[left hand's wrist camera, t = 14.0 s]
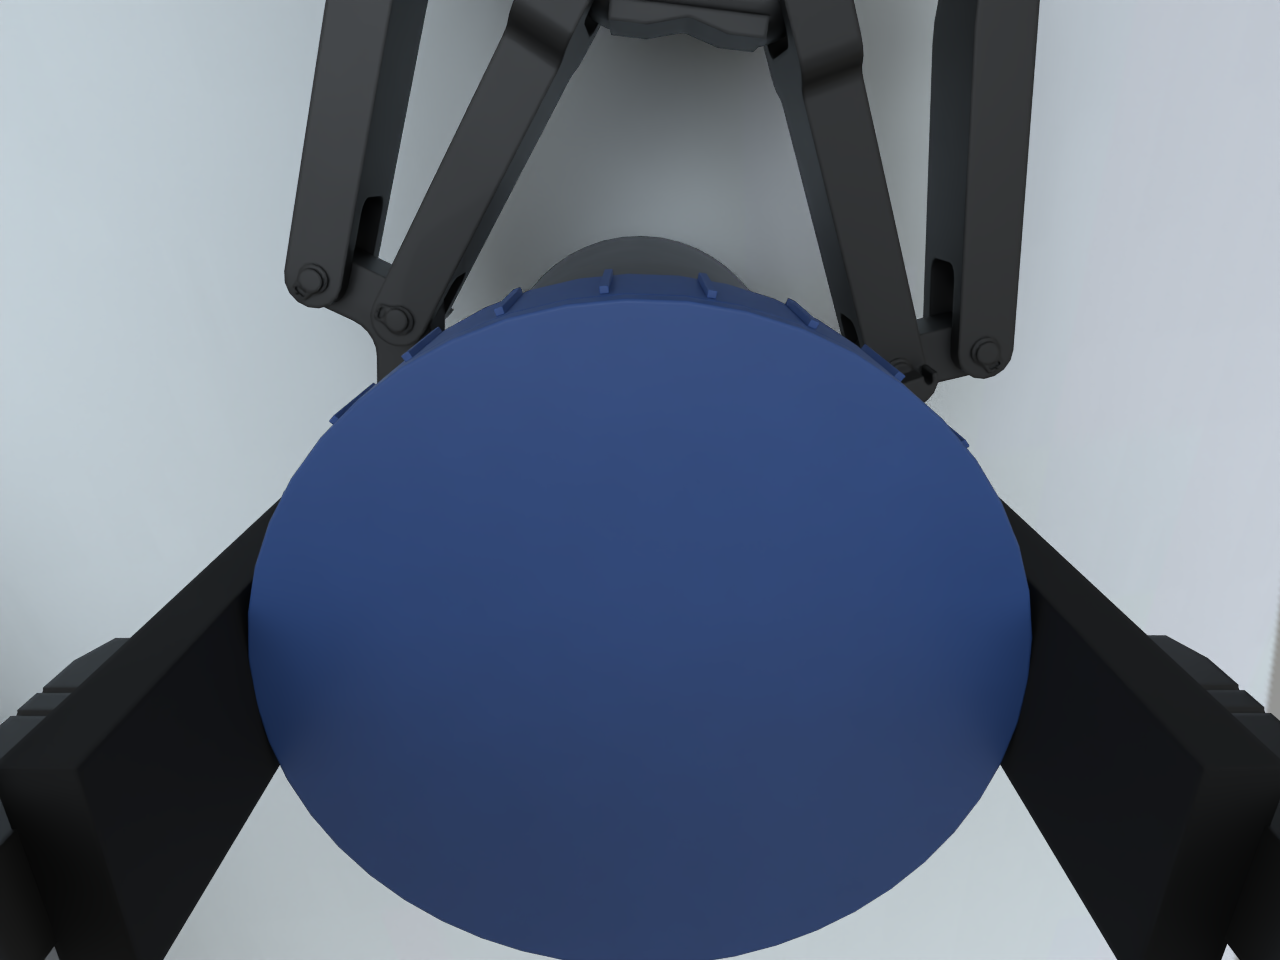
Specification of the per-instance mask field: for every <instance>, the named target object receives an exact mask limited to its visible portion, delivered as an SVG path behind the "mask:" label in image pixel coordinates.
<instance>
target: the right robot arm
mask: <svg viewBox="0 0 1280 960" xmlns="http://www.w3.org/2000/svg"><path fill="white" fill-rule="evenodd" d="M427 3H428V0H326V3H325V9H324V16H323V22H322V29H321V35H320V42H319V48H318V55H317V62H316V68H315V75H314V81H313V88H312V94H311V101H310V107H309V114H308V120H307V127H306V133H305V140H304V146H303V153H302V159H301V166H300V172H299V179H298V185H297V192H296V198H295V205H294V211H293V218H292V224H291V231H290V238H289V244H288V251H287V257H286V264H285V270H284V275H285V284H286V286H287V288H288V291H289V293H290V294H291V295H292V296H293V297H294V298H295V299H296V300H297V301H298V302H299V303H301V304H303V305H305V306H307V307H312V308H322V307H325V308H327V309H329V310H332V311H334V312H336V313H338V314H340V315H342V316H344V317H347V318H349V319H351V320H353V321H355V322H356V323H358V324H360V325H361V326H362V327H363V328H364V329H365V330H366V331H367V332H368V333H369V335H370V336H371V338H372V339H373V341H374V344H375V347H376V352H377V383H378V382H379V381H381V380H382V379H383V378H384V377H385V376H387V375H388V374H389V373H390V372H391V371H393V370H394V369H395V368H396V367H397V366H399V365H400V364H401V363H402V362H403V361H404V360H403V358H402V357H401V356H402V355H403V354H404V353H405V352H407V351H408V350H409V349H410V348H412V347H413V346H414V345H415V344H417V343H418V342H419V341H420V340H422V339H423V338H424V337H425V336H427V335H428V334H429V333H430V332H431V331H433V330H434V329H436V328H437V327H439V328H440V329H441V330H442V332H443V331H444V330H445V319H446V318H447V317H448V316H449V315H450V314H451V313H452V311H453V310H454V309H452V308H451V307H452V305H453V303H454V301H455V299H456V297H457V295H458V293H459V291H460V290H461V288H462V286H463V284H464V282H465V280H466V278H467V276H468V274H469V272H470V270H471V268H472V266H473V264H474V263H475V261H476V259H477V257H478V255H479V253H480V251H481V249H482V247H483V245H484V243H485V241H486V239H487V238H488V236H489V234H490V232H491V230H492V228H493V226H494V224H495V222H496V220H497V218H498V216H499V214H500V212H501V211H502V209H503V207H504V205H505V203H506V201H507V199H508V197H509V195H510V193H511V191H512V189H513V187H514V185H515V184H516V182H517V180H518V178H519V176H520V174H521V172H522V170H523V168H524V166H525V164H526V162H527V160H528V158H529V157H530V155H531V153H532V151H533V149H534V147H535V145H536V143H537V141H538V139H539V137H540V135H541V133H542V132H543V130H544V128H545V126H546V124H547V122H548V120H549V118H550V116H551V114H552V112H553V110H554V108H555V106H556V105H557V103H558V101H559V99H560V97H561V95H562V93H563V91H564V89H565V87H566V85H567V83H568V82H569V80H570V78H571V76H572V75H573V73H574V72H575V71H576V69H577V68H578V66H579V65H580V63H581V62H582V60H583V58H584V56H585V54H586V52H587V50H588V48H589V47H590V45H591V43H592V41H593V39H594V37H595V35H596V33H597V31H598V29H599V27H600V25H602V26H604V27H606V28H608V29H610V31H611V35H617V36H625V37H633V38H641V39H650V38H655V37H661V36H667V35H672V34H678V33H686V34H688V35H690V36H693V37H695V38H697V39H700V40H702V41H704V42H706V43H709V44H711V45H713V46H715V47H718V48H724V49H732V50H740V51H749V52H753V51H754V50H755V49H756V48H757V47H760V46H764V50H765V54H766V58H767V62H768V66H769V69H770V73H771V77H772V81H773V84H774V87H775V90H776V92H777V94H778V96H779V98H780V100H781V102H782V105H783V109H784V112H785V116H786V120H787V124H788V128H789V132H790V136H791V140H792V144H793V148H794V151H795V155H796V159H797V163H798V167H799V171H800V175H801V179H802V183H803V187H804V191H805V194H806V198H807V202H808V206H809V210H810V214H811V218H812V222H813V226H814V230H815V234H816V237H817V241H818V245H819V249H820V253H821V257H822V261H823V265H824V269H825V273H826V277H827V280H828V284H829V288H830V292H831V296H832V300H833V304H834V308H835V312H836V316H837V320H838V323H839V327H840V331H841V335H842V336H843V337H845V338H846V339H848V340H849V341H851V342H852V343H854V344H855V345H857V346H858V347H859V348H862V347H863V345H864V344H866V345H867V346H869V347H870V348H871V349H872V350H874V351H875V352H876V353H877V354H879V355H880V356H881V357H882V358H884V359H885V360H886V361H887V362H889V363H890V364H891V365H892V366H894V367H895V368H896V369H897V370H899V371H900V372H901V373H902V374H904V375H905V377H904V379H903V380H902V381H901V383H903V384H904V385H905V386H906V387H907V388H908V389H909V390H910V391H912V392H913V393H914V394H915V395H916V396H917V397H918V398H919V399H920V400H922V401H923V402H926V401H927V400H928V399H929V398H930V397H931V396H932V394H933V393H934V391H935V389H936V386H937V384H938V382H942V381H946V380H950V379H954V378H959V377H963V376H967V375H970V376H972V377H973V378H982V379H985V378H988V377H992V376H995V375H996V374H998V373H999V372H1001V371H1002V370H1004V368H1005V367H1006V366H1007V364H1008V363H1009V361H1010V360H1011V356H1012V353H1013V347H1014V334H1015V321H1016V308H1017V294H1018V281H1019V268H1020V255H1021V241H1022V228H1023V215H1024V202H1025V189H1026V175H1027V162H1028V149H1029V136H1030V122H1031V109H1032V96H1033V83H1034V69H1035V56H1036V43H1037V30H1038V16H1039V3H1040V0H938V6H937V11H936V16H935V22H934V34H933V45H932V74H931V104H930V133H929V162H928V192H927V221H926V250H925V280H924V309H923V318H920V319H916V316H915V311H914V307H913V302H912V298H911V293H910V288H909V284H908V279H907V275H906V270H905V266H904V261H903V257H902V252H901V248H900V243H899V239H898V234H897V230H896V225H895V220H894V216H893V211H892V207H891V202H890V198H889V193H888V189H887V184H886V180H885V175H884V171H883V166H882V161H881V157H880V152H879V148H878V143H877V139H876V134H875V130H874V125H873V121H872V116H871V112H870V107H869V103H868V98H867V93H866V89H865V84H864V80H863V74H862V63H863V44H862V38H861V32H860V28H859V23H858V18H857V14H856V9H855V5H854V0H514V1H513V4H512V7H511V10H510V13H509V18H508V23H507V26H506V29H505V31H504V34H503V36H502V38H501V40H500V42H499V44H498V46H497V48H496V50H495V53H494V55H493V57H492V59H491V61H490V63H489V65H488V67H487V69H486V71H485V73H484V75H483V77H482V79H481V82H480V84H479V86H478V88H477V90H476V92H475V94H474V96H473V98H472V100H471V102H470V104H469V106H468V108H467V111H466V113H465V115H464V117H463V119H462V121H461V123H460V125H459V127H458V129H457V131H456V133H455V135H454V137H453V139H452V142H451V144H450V146H449V148H448V150H447V152H446V154H445V156H444V158H443V160H442V162H441V164H440V166H439V168H438V171H437V173H436V175H435V177H434V179H433V181H432V183H431V185H430V187H429V189H428V191H427V193H426V195H425V197H424V199H423V202H422V204H421V206H420V208H419V210H418V212H417V214H416V216H415V218H414V220H413V222H412V224H411V226H410V228H409V231H408V233H407V235H406V237H405V239H404V241H403V243H402V245H401V247H400V249H399V251H398V253H397V255H396V257H395V259H394V262H393V264H390V263H388V262H385V261H383V260H381V259H379V258H378V256H379V251H380V246H381V241H382V236H383V230H384V225H385V220H386V215H387V210H388V205H389V199H390V194H391V189H392V184H393V179H394V174H395V168H396V163H397V158H398V153H399V148H400V142H401V137H402V132H403V127H404V122H405V117H406V111H407V106H408V101H409V96H410V91H411V86H412V80H413V75H414V70H415V65H416V60H417V55H418V49H419V44H420V39H421V34H422V29H423V24H424V18H425V13H426V8H427Z"/></svg>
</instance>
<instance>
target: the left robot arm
mask: <svg viewBox="0 0 1280 960" xmlns="http://www.w3.org/2000/svg"><path fill="white" fill-rule="evenodd" d="M999 499H1000V498H999ZM280 500H281V498H280V499H279V500H278V501H277V502H276V503H275V504H274V505H273V506H272V507H271V508H269V509H268V510H267V511H266V512H265V513H264V514H263V515H262V516H261V517H260V518H259V519H258V520H257V521H255V522H254V523H253V524H252V525H251V526H250V527H249V528H248V529H247V530H246V531H245V532H244V533H243V534H241V535H240V536H239V537H238V538H237V539H236V540H235V541H234V542H233V543H232V544H231V545H230V546H229V547H228V548H226V549H225V550H224V551H223V552H222V553H221V554H220V555H219V556H218V557H217V558H216V559H215V560H214V561H212V562H211V563H210V564H209V565H208V566H207V567H206V568H205V569H204V570H203V571H202V572H201V573H200V574H199V575H197V576H196V577H195V578H194V579H193V580H192V581H191V582H190V583H189V584H188V585H187V586H186V587H185V588H183V589H182V590H181V591H180V592H179V593H178V594H177V595H176V596H175V597H174V598H173V599H172V600H171V601H170V602H168V603H167V604H166V605H165V606H164V607H163V608H162V609H161V610H160V611H159V612H158V613H157V614H156V615H154V616H153V617H152V618H151V619H150V620H149V621H148V622H147V623H146V624H145V625H144V626H143V627H142V628H141V629H139V630H138V631H137V632H136V633H135V634H134V635H133V636H132V637H131V638H115V639H113V640H111V641H109V642H107V643H106V644H104V645H102V646H100V647H98V648H96V649H95V650H93V651H91V652H89V653H87V654H85V655H84V656H82V657H80V658H78V659H76V660H74V661H73V662H72V663H71V664H70V665H68V666H67V667H66V668H65V669H64V670H63V671H62V672H60V673H59V674H58V675H57V676H56V677H55V678H54V679H52V680H51V681H50V682H49V683H48V684H47V685H46V686H44V687H43V692H42V693H36V694H35V695H34V696H33V697H32V698H31V699H30V700H29V701H27V702H26V703H25V704H24V705H23V706H22V707H21V708H19V709H18V710H17V712H18V713H17V715H16V716H10V717H9V718H8V719H7V720H6V721H5V722H3V723H2V724H1V725H0V960H163V959H164V958H165V956H166V954H167V952H168V951H169V949H170V947H171V946H172V944H173V942H174V941H175V939H176V937H177V936H178V934H179V932H180V931H181V929H182V927H183V926H184V924H185V922H186V921H187V919H188V917H189V916H190V914H191V912H192V911H193V909H194V907H195V906H196V904H197V902H198V901H199V899H200V897H201V896H202V894H203V892H204V891H205V889H206V887H207V886H208V884H209V882H210V881H211V879H212V877H213V876H214V874H215V872H216V871H217V869H218V867H219V866H220V864H221V862H222V861H223V859H224V857H225V856H226V854H227V852H228V851H229V849H230V847H231V846H232V844H233V842H234V841H235V839H236V837H237V836H238V834H239V832H240V831H241V829H242V827H243V826H244V824H245V822H246V821H247V819H248V817H249V816H250V814H251V812H252V811H253V809H254V807H255V806H256V804H257V802H258V801H259V799H260V797H261V796H262V794H263V792H264V791H265V789H266V787H267V785H268V784H269V782H270V780H271V779H272V777H273V775H274V774H275V772H276V770H277V769H278V767H279V765H280V764H279V762H278V760H277V757H276V755H275V753H274V751H273V749H272V747H271V745H270V743H269V741H268V738H267V735H266V732H265V729H264V725H263V722H262V719H261V716H260V713H259V709H258V704H257V700H256V695H255V690H254V685H253V680H252V675H251V670H250V664H249V658H248V609H249V603H250V596H251V589H252V583H253V576H254V569H255V565H256V562H257V559H258V556H259V552H260V549H261V546H262V543H263V540H264V537H265V534H266V530H267V527H268V524H269V522H270V520H271V518H272V516H273V514H274V512H275V510H276V508H277V506H278V504H279V502H280ZM1000 500H1001V499H1000ZM1001 502H1002V504H1003V507H1004V509H1005V512H1006V514H1007V517H1008V519H1009V522H1010V524H1011V527H1012V530H1013V532H1014V535H1015V537H1016V540H1017V542H1018V545H1019V547H1020V552H1021V556H1022V561H1023V565H1024V570H1025V574H1026V579H1027V583H1028V588H1029V594H1030V610H1031V626H1032V645H1031V655H1030V666H1029V675H1028V680H1027V685H1026V690H1025V694H1024V699H1023V703H1022V707H1021V711H1020V715H1019V719H1018V723H1017V726H1016V728H1015V730H1014V733H1013V735H1012V738H1011V740H1010V743H1009V745H1008V747H1007V750H1006V752H1005V755H1004V757H1003V760H1002V762H1001V764H1000V765H1001V766H1002V768H1003V770H1004V771H1005V773H1006V775H1007V776H1008V778H1009V780H1010V781H1011V783H1012V785H1013V786H1014V788H1015V790H1016V791H1017V793H1018V795H1019V796H1020V798H1021V800H1022V801H1023V803H1024V805H1025V806H1026V808H1027V810H1028V811H1029V813H1030V815H1031V817H1032V818H1033V820H1034V822H1035V823H1036V825H1037V827H1038V828H1039V830H1040V832H1041V833H1042V835H1043V837H1044V838H1045V840H1046V842H1047V843H1048V845H1049V847H1050V848H1051V850H1052V852H1053V853H1054V855H1055V857H1056V858H1057V860H1058V862H1059V863H1060V865H1061V867H1062V868H1063V870H1064V872H1065V873H1066V875H1067V877H1068V878H1069V880H1070V882H1071V883H1072V885H1073V887H1074V888H1075V890H1076V892H1077V893H1078V895H1079V897H1080V898H1081V900H1082V902H1083V903H1084V905H1085V907H1086V908H1087V910H1088V912H1089V913H1090V915H1091V917H1092V918H1093V920H1094V922H1095V923H1096V925H1097V927H1098V928H1099V930H1100V932H1101V933H1102V935H1103V937H1104V938H1105V940H1106V942H1107V943H1108V945H1109V947H1110V948H1111V950H1112V952H1113V953H1114V955H1115V957H1116V958H1117V960H1221V959H1222V956H1223V954H1224V951H1225V948H1226V946H1227V944H1228V945H1229V946H1230V948H1231V949H1232V950H1233V952H1234V953H1235V954H1236V956H1237V957H1238V958H1239V960H1280V721H1279V720H1278V719H1277V718H1276V717H1275V716H1274V715H1272V714H1271V713H1265V711H1264V707H1263V706H1262V705H1261V704H1260V703H1259V702H1258V701H1256V700H1255V699H1254V698H1253V697H1252V696H1251V695H1250V694H1248V693H1247V692H1246V691H1245V690H1239V688H1238V684H1237V683H1236V682H1235V681H1233V680H1232V679H1231V678H1230V677H1229V676H1228V675H1227V674H1225V673H1224V672H1223V671H1222V670H1221V669H1220V668H1219V667H1217V666H1216V665H1215V664H1214V663H1213V662H1212V661H1211V660H1209V659H1208V658H1207V657H1205V656H1203V655H1201V654H1199V653H1197V652H1196V651H1194V650H1192V649H1190V648H1188V647H1186V646H1184V645H1183V644H1181V643H1179V642H1177V641H1175V640H1173V639H1171V638H1170V637H1168V636H1166V635H1146V634H1145V633H1144V632H1143V631H1142V630H1141V629H1140V628H1139V627H1138V626H1137V625H1136V624H1135V623H1134V622H1132V621H1131V620H1130V619H1129V618H1128V617H1127V616H1126V615H1125V614H1124V613H1123V612H1122V611H1121V610H1120V609H1118V608H1117V607H1116V606H1115V605H1114V604H1113V603H1112V602H1111V601H1110V600H1109V599H1108V598H1107V597H1106V596H1105V595H1103V594H1102V593H1101V592H1100V591H1099V590H1098V589H1097V588H1096V587H1095V586H1094V585H1093V584H1092V583H1091V582H1089V581H1088V580H1087V579H1086V578H1085V577H1084V576H1083V575H1082V574H1081V573H1080V572H1079V571H1078V570H1077V569H1075V568H1074V567H1073V566H1072V565H1071V564H1070V563H1069V562H1068V561H1067V560H1066V559H1065V558H1064V557H1063V556H1062V555H1060V554H1059V553H1058V552H1057V551H1056V550H1055V549H1054V548H1053V547H1052V546H1051V545H1050V544H1049V543H1048V542H1046V541H1045V540H1044V539H1043V538H1042V537H1041V536H1040V535H1039V534H1038V533H1037V532H1036V531H1035V530H1034V529H1033V528H1031V527H1030V526H1029V525H1028V524H1027V523H1026V522H1025V521H1024V520H1023V519H1022V518H1021V517H1020V516H1019V515H1017V514H1016V513H1015V512H1014V511H1013V510H1012V509H1011V508H1010V507H1009V506H1008V505H1007V504H1006V503H1005V502H1004V501H1002V500H1001Z"/></svg>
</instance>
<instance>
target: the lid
mask: <svg viewBox="0 0 1280 960" xmlns="http://www.w3.org/2000/svg"><path fill="white" fill-rule="evenodd" d="M401 357H402V358H403V360H404V361H403V362H402V363H401V364H400V365H399V366H397V367H396V368H395V369H394V370H393V371H391V372H390V373H389V374H388V375H387V376H385V377H384V378H383V379H382V380H381V381H379V382H378V383H377V384H374V383H373V384H371V385H370V386H369V387H368V388H367V389H365V390H364V391H363V392H362V393H360V394H359V395H358V396H357V397H356V398H354V399H353V400H352V401H351V402H349V403H348V404H347V405H346V406H345V407H343V408H342V409H341V410H340V411H339V412H337V413H336V414H335V415H334V416H333V417H332V418H331V419H330V420H329V422H331V423H332V424H333V425H332V426H331V427H330V428H329V429H328V431H327V432H326V433H325V434H324V435H323V436H322V437H321V438H320V439H319V440H318V442H317V443H316V445H315V446H314V447H313V449H312V450H311V452H310V453H309V454H308V456H307V457H306V459H305V460H304V461H303V463H302V464H301V466H300V467H299V468H298V470H297V471H296V473H295V474H294V475H293V477H292V478H291V480H290V482H289V484H288V486H287V488H286V490H285V491H284V493H283V495H282V497H281V500H280V502H279V504H278V506H277V508H276V510H275V512H274V514H273V516H272V518H271V520H270V522H269V524H268V527H267V530H266V534H265V537H264V540H263V543H262V546H261V549H260V552H259V556H258V559H257V562H256V565H255V569H254V576H253V583H252V589H251V596H250V603H249V609H248V658H249V664H250V670H251V675H252V680H253V685H254V690H255V695H256V700H257V704H258V709H259V713H260V716H261V719H262V722H263V725H264V729H265V732H266V735H267V738H268V741H269V743H270V745H271V747H272V749H273V751H274V753H275V755H276V757H277V760H278V762H279V764H280V766H281V768H282V770H283V772H284V774H285V776H286V778H287V780H288V781H289V783H290V784H291V786H292V787H293V789H294V790H295V792H296V793H297V795H298V796H299V798H300V799H301V801H302V802H303V804H304V805H305V807H306V808H307V810H308V811H309V813H310V814H311V816H312V817H313V818H314V819H315V820H316V821H317V823H318V824H319V825H320V826H321V827H322V828H323V829H324V831H325V832H326V833H327V834H328V835H329V836H330V837H331V839H332V840H333V841H334V842H335V843H336V844H337V846H338V847H339V848H341V849H342V850H343V851H344V852H345V853H346V854H347V855H348V856H349V857H350V858H352V859H353V860H354V861H355V862H356V863H357V864H358V865H359V866H360V867H362V868H363V869H364V870H365V871H366V872H367V873H368V874H369V875H370V876H372V877H373V878H375V879H376V880H377V881H379V882H380V883H382V884H383V885H384V886H386V887H387V888H389V889H390V890H391V891H393V892H394V893H396V894H397V895H398V896H400V897H401V898H403V899H404V900H406V901H407V902H409V903H411V904H413V905H415V906H416V907H418V908H420V909H422V910H423V911H425V912H427V913H429V914H430V915H432V916H434V917H436V918H438V919H439V920H441V921H443V922H446V923H448V924H450V925H452V926H455V927H457V928H459V929H462V930H464V931H466V932H469V933H471V934H473V935H475V936H478V937H480V938H483V939H486V940H489V941H492V942H495V943H499V944H502V945H505V946H508V947H511V948H514V949H517V950H520V951H524V952H529V953H534V954H538V955H543V956H547V957H552V958H557V959H561V960H716V959H722V958H728V957H734V956H738V955H742V954H746V953H750V952H753V951H757V950H761V949H765V948H769V947H772V946H776V945H779V944H782V943H784V942H787V941H790V940H792V939H795V938H798V937H800V936H803V935H806V934H809V933H811V932H814V931H817V930H819V929H821V928H823V927H825V926H827V925H829V924H831V923H833V922H835V921H837V920H839V919H841V918H843V917H845V916H847V915H849V914H851V913H853V912H855V911H857V910H858V909H860V908H862V907H863V906H865V905H866V904H868V903H870V902H871V901H873V900H874V899H876V898H877V897H879V896H881V895H882V894H884V893H885V892H887V891H889V890H890V889H892V888H893V887H894V886H895V885H897V884H898V883H899V882H900V881H902V880H903V879H904V878H905V877H907V876H908V875H909V874H910V873H912V872H913V871H914V870H915V869H917V868H918V867H919V866H920V865H922V864H923V863H924V862H925V861H926V860H927V859H928V858H929V857H930V856H931V855H932V854H933V853H934V852H935V851H936V850H937V849H938V848H939V847H940V846H941V845H942V844H943V843H944V842H945V841H946V840H947V839H948V838H949V837H950V836H951V835H952V834H953V833H954V832H955V831H956V829H957V828H958V827H959V825H960V824H961V823H962V822H963V820H964V819H965V818H966V816H967V815H968V814H969V813H970V811H971V810H972V809H973V807H974V806H975V805H976V803H977V802H978V801H979V800H980V798H981V796H982V795H983V793H984V791H985V790H986V788H987V786H988V784H989V783H990V781H991V779H992V778H993V776H994V774H995V772H996V771H997V769H998V767H999V766H1000V764H1001V762H1002V760H1003V757H1004V755H1005V752H1006V750H1007V747H1008V745H1009V743H1010V740H1011V738H1012V735H1013V733H1014V730H1015V728H1016V726H1017V723H1018V719H1019V715H1020V711H1021V707H1022V703H1023V699H1024V694H1025V690H1026V685H1027V680H1028V675H1029V666H1030V655H1031V645H1032V626H1031V610H1030V594H1029V588H1028V583H1027V579H1026V574H1025V570H1024V565H1023V561H1022V556H1021V552H1020V547H1019V545H1018V542H1017V540H1016V537H1015V535H1014V532H1013V530H1012V527H1011V524H1010V522H1009V519H1008V517H1007V514H1006V512H1005V509H1004V507H1003V504H1002V502H1001V500H1000V499H999V497H998V495H997V494H996V492H995V490H994V489H993V487H992V485H991V484H990V482H989V480H988V479H987V477H986V475H985V474H984V472H983V470H982V468H981V467H980V465H979V463H978V462H977V460H976V459H975V458H974V456H973V455H972V454H971V453H970V451H969V450H968V449H967V447H969V444H968V443H967V441H966V440H965V439H964V438H963V437H961V436H960V435H959V434H958V433H957V432H955V431H954V430H953V429H952V428H951V427H950V426H948V425H947V424H946V423H945V421H944V420H943V419H942V418H941V417H940V416H938V415H937V414H936V413H935V412H934V411H933V410H932V409H931V408H929V407H928V406H927V405H926V404H925V403H924V402H923V401H922V400H920V399H919V398H918V397H917V396H916V395H915V394H914V393H913V392H912V391H910V390H909V389H908V388H907V387H906V386H905V385H904V384H903V383H901V381H902V380H903V379H904V377H905V375H904V374H902V373H901V372H900V371H899V370H897V369H896V368H895V367H894V366H892V365H891V364H890V363H889V362H887V361H886V360H885V359H884V358H882V357H881V356H880V355H879V354H877V353H876V352H875V351H874V350H872V349H871V348H870V347H869V346H867V345H866V344H864V345H863V347H862V348H859V347H858V346H857V345H855V344H854V343H852V342H851V341H849V340H848V339H846V338H845V337H843V336H842V335H840V334H839V333H837V332H836V331H834V330H833V329H831V328H830V327H828V326H827V325H825V324H824V323H822V322H821V321H819V320H818V319H816V318H814V317H812V316H811V315H810V314H809V313H808V312H807V311H806V310H804V309H803V308H802V307H801V306H800V305H799V304H798V303H797V302H795V301H794V300H791V299H789V298H788V300H787V302H786V304H784V303H782V302H780V301H778V300H776V299H773V298H770V297H767V296H764V295H760V294H757V293H754V292H751V291H748V290H745V289H741V288H738V287H735V286H732V285H729V284H724V283H718V282H713V281H711V280H710V278H709V277H708V275H707V274H705V273H699V274H698V279H695V278H689V277H684V276H675V275H648V274H621V275H613V269H605V270H604V273H603V276H601V277H591V278H580V279H575V280H571V281H567V282H562V283H558V284H554V285H550V286H546V287H541V288H537V289H533V290H529V291H527V292H524V293H523V292H522V290H521V287H519V288H516V289H513V290H512V291H511V292H510V293H509V294H508V295H507V296H506V297H505V298H504V299H503V300H502V301H501V302H498V303H496V304H493V305H491V306H488V307H485V308H484V309H482V310H480V311H478V312H476V313H475V314H473V315H471V316H469V317H467V318H466V319H464V320H462V321H460V322H458V323H457V324H455V325H453V326H451V327H449V328H448V329H446V330H444V331H443V332H442V330H441V329H440V328H439V327H437V328H436V329H434V330H433V331H431V332H430V333H429V334H428V335H427V336H425V337H424V338H423V339H422V340H420V341H419V342H418V343H417V344H415V345H414V346H413V347H412V348H410V349H409V350H408V351H407V352H405V353H404V354H403V355H402V356H401Z"/></svg>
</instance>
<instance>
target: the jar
mask: <svg viewBox="0 0 1280 960" xmlns="http://www.w3.org/2000/svg"><path fill="white" fill-rule="evenodd" d="M605 269H613V275H621V274H648V275H675V276H684V277H689V278H695V279H698V274H699V273H705V274H707V275H708V277H709V278H710V280H711V281H713V282H718V283H724V284H729V285H732V286H735V287H738V288H741V289H745V290H748V289H747V287H746V286H745V285H744V284H743V283H742V282H741V281H740V280H739V279H738V278H737V277H736V276H735V275H734V274H733V273H732V272H731V271H730V270H729V269H728V268H727V267H725V266H724V265H723V264H721V263H720V262H719V261H717V260H716V259H714V258H713V257H711V256H709V255H708V254H706V253H704V252H702V251H700V250H698V249H696V248H694V247H691V246H689V245H686V244H683V243H681V242H677V241H673V240H668V239H664V238H658V237H646V236H635V237H621V238H616V239H610V240H605V241H602V242H599V243H596V244H593V245H590V246H587V247H585V248H583V249H581V250H579V251H577V252H575V253H573V254H571V255H569V256H568V257H566V258H565V259H563V260H562V261H560V262H559V263H557V264H556V265H555V266H553V267H552V268H551V269H550V270H549V271H548V272H547V273H546V274H545V275H543V276H542V277H541V278H540V280H539V281H538V282H537V283H536V284H535V285H534V286H533V288H532V289H531V290H533V289H537V288H541V287H546V286H550V285H554V284H558V283H562V282H567V281H571V280H575V279H580V278H591V277H601V276H603V273H604V270H605ZM748 291H749V290H748Z"/></svg>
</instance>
